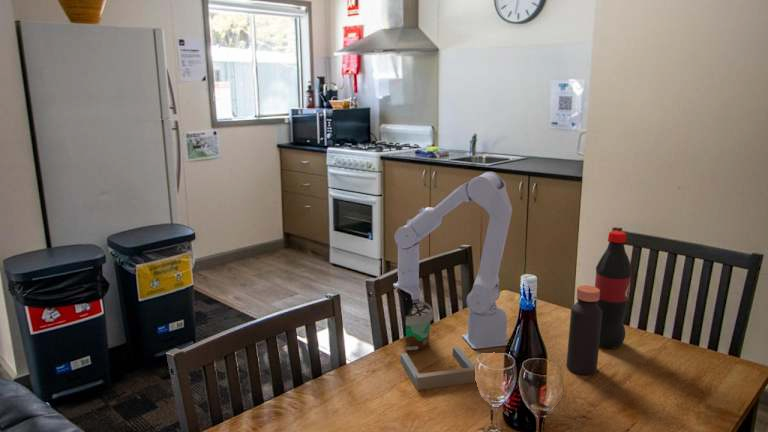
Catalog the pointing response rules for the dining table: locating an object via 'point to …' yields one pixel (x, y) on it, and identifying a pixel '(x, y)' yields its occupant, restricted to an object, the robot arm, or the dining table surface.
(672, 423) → the dining table surface
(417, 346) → the food container
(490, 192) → the robot arm
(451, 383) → the frame
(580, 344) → the dark grey water bottle
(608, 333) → the cola bottle
